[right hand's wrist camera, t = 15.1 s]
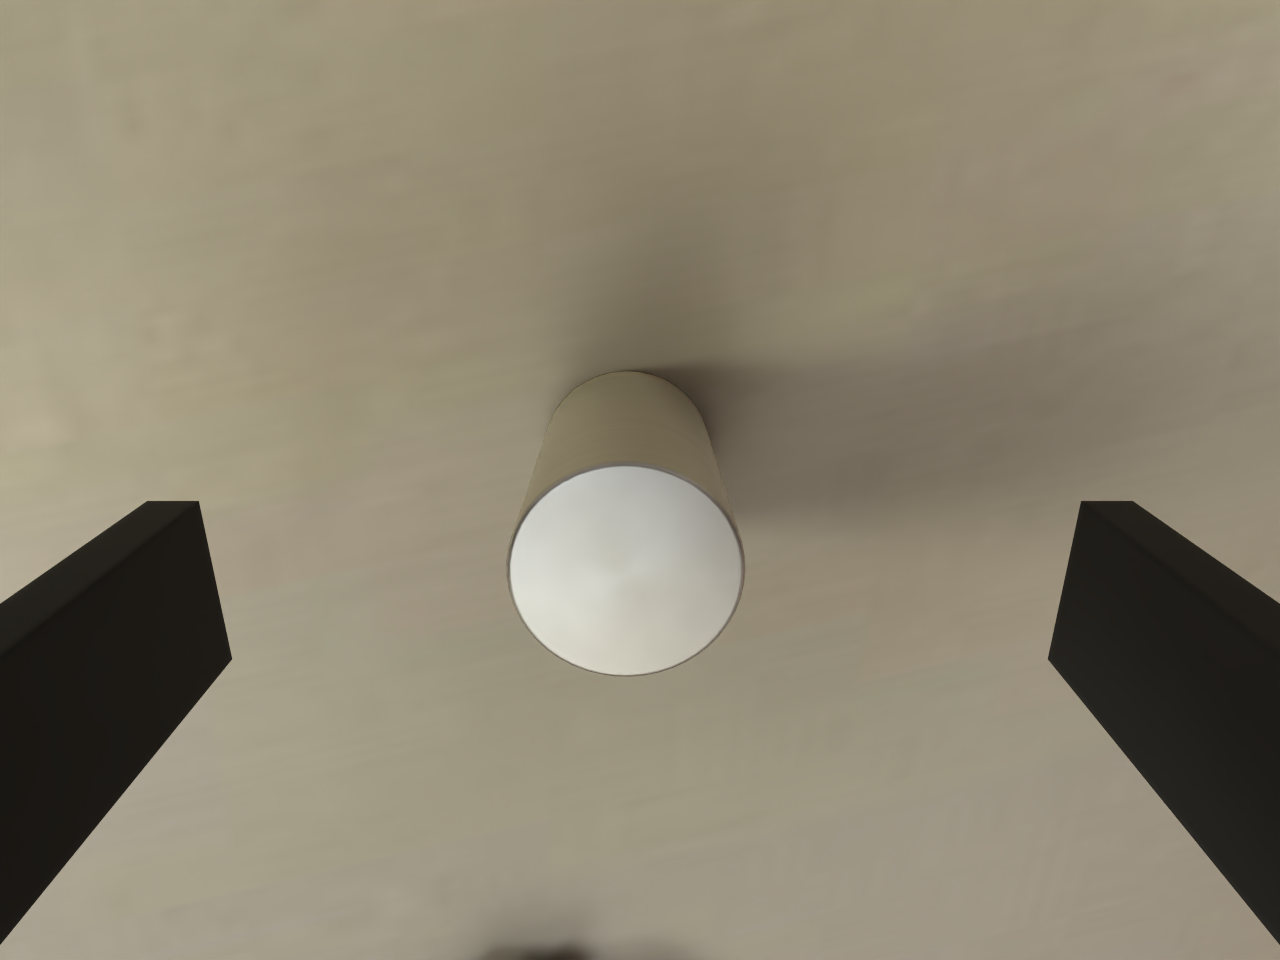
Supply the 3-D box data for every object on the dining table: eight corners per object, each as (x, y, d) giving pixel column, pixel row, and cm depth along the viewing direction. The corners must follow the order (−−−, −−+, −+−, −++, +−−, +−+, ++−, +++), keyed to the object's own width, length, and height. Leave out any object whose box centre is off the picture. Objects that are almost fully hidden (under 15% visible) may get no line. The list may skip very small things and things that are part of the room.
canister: (685, 541, 22) (709, 698, 15) (530, 507, 21) (486, 652, 15) (728, 392, 20) (776, 492, 14) (564, 352, 20) (531, 436, 13)
